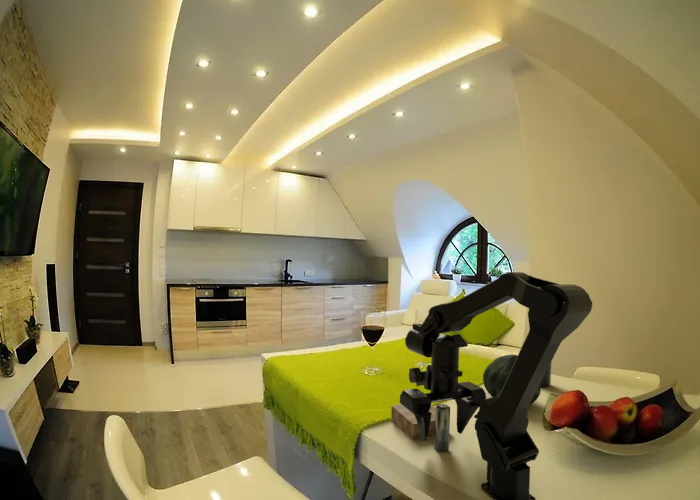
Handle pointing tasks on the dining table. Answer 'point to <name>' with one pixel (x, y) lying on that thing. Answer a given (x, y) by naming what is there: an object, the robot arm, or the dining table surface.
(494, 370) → the squash
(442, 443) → the pin
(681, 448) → the dining table surface
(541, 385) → the supplement bottle
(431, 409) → the hole block
